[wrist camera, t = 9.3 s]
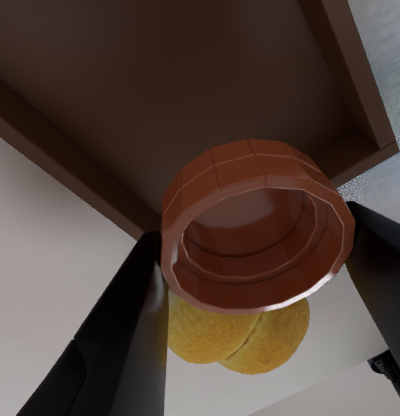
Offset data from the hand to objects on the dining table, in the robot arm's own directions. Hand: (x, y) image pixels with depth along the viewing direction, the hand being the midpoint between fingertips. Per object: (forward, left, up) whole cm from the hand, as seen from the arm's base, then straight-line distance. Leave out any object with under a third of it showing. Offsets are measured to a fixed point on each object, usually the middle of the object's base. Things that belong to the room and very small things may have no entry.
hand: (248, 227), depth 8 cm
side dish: (0, 0, -1) cm, 1 cm away
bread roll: (-10, +6, -6) cm, 13 cm away
